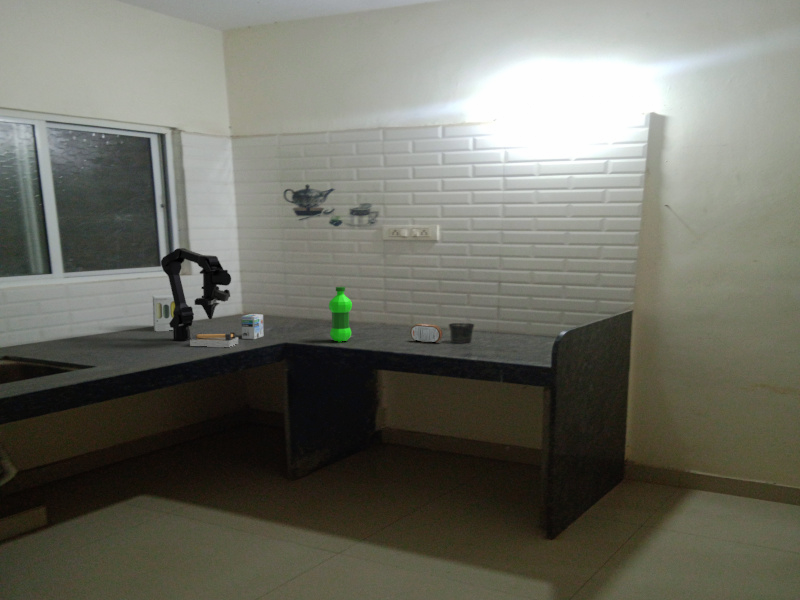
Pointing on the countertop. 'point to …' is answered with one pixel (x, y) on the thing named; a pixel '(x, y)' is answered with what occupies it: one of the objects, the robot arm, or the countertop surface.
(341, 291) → the plastic bottle
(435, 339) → the tin
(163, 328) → the supplement box
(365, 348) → the countertop surface
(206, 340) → the grey fixture base
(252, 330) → the light bulb box
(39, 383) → the countertop surface
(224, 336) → the bar
